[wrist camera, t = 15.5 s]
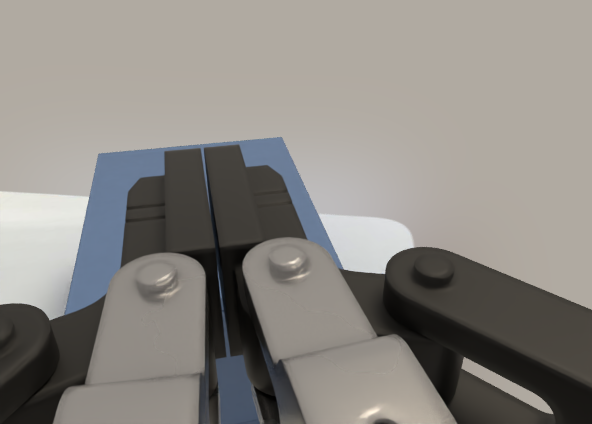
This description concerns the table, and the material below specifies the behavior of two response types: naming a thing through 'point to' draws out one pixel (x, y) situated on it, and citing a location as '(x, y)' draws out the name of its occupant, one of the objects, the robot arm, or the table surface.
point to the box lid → (146, 163)
